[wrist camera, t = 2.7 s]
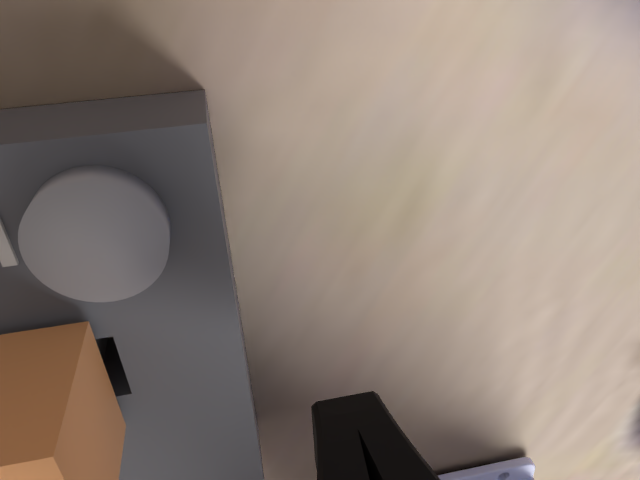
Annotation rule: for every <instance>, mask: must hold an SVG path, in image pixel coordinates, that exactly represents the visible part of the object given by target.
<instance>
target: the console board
mask: <svg viewBox="0 0 640 480" xmlns="http://www.w3.org/2000/svg"><path fill="white" fill-rule="evenodd" d="M86 321H89V323H90V326H91V329H92V332H93V334H94V337H95V339H100V338H106V337H112V338H108V340H107V345H106V350H105V355H104V360H103V362H104V365H105V368H106V371H107V374H108V376H109V379H110V382H111V385H112V388H113V390H114V393H115V396H116V399H117V402H118V404H119V407H120V410H121V413H122V416H123V418H124V421H125V424H126V430H125V437H124V444H123V452H122V459H121V466H120V474H119V480H264V474H263V466H262V458H261V450H260V441H259V433H258V425H257V419H256V412H255V406H254V399H253V393H252V387H251V380H250V374H249V368H248V361H247V355H246V348H245V342H244V336H243V329H242V323H241V317H240V310H239V304H238V297H237V291H236V285H235V278H234V272H233V266H232V259H231V253H230V246H229V240H228V234H227V227H226V221H225V215H224V208H223V202H222V195H221V189H220V183H219V176H218V170H217V164H216V157H215V151H214V144H213V138H212V132H211V125H210V119H209V113H208V106H207V100H206V93H205V90H196V91H185V92H175V93H165V94H154V95H144V96H133V97H123V98H113V99H102V100H92V101H81V102H71V103H61V104H50V105H40V106H29V107H19V108H9V109H0V335H1V334H8V333H14V332H21V331H27V330H34V329H40V328H47V327H53V326H60V325H66V324H73V323H79V322H86Z"/></svg>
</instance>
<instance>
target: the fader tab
mask: <svg viewBox="0 0 640 480" xmlns="http://www.w3.org/2000/svg"><path fill="white" fill-rule="evenodd" d="M107 340H108V337H106V338H100V339H95V337H94V334H93V332H92V329H91V326H90V323H89V321H86V322H79V323H73V324H66V325H60V326H53V327H47V328H40V329H34V330H27V331H21V332H14V333H8V334H1V335H0V480H119V474H120V466H121V459H122V452H123V444H124V437H125V430H126V424H125V421H124V418H123V416H122V413H121V410H120V407H119V404H118V402H117V399H116V396H115V393H114V390H113V388H112V385H111V382H110V379H109V376H108V374H107V371H106V368H105V365H104V362H103V360H104V355H105V350H106V345H107Z"/></svg>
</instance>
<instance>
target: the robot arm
mask: <svg viewBox="0 0 640 480" xmlns="http://www.w3.org/2000/svg"><path fill="white" fill-rule="evenodd" d="M311 408H312V422H313V436H314V450H315V462H316V468H317V480H534V478H533V474H534V471H535V465H534V463H533V461H532V460H531V459H530V458H528V457H521V458H516V459H512V460H507V461H502V462H498V463H493V464H488V465H483V466H479V467H474V468H469V469H465V470H460V471H455V472H451V473H446V474H441V475H436V474H435V472H434V471H433V470H432V469H431V467H430V466H429V465H428V464H427V463H426V461H425V460H424V459H423V458H422V456H421V455H420V454H419V452H418V451H417V450H416V449H415V447H414V446H413V445H412V443H411V442H410V441H409V439H408V438H407V437H406V435H405V434H404V433H403V431H402V430H401V428H400V427H399V426H398V424H397V423H396V421H395V420H394V419H393V417H392V416H391V414H390V413H389V411H388V410H387V408H386V407H385V405H384V404H383V402H382V400H381V399H380V397H379V395H378V394H377V393H375V392H373V391H371V392H366V393H360V394H355V395H350V396H344V397H339V398H334V399H328V400H323V401H318V402H316V403H315V404H314V405H312V406H311Z"/></svg>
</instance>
